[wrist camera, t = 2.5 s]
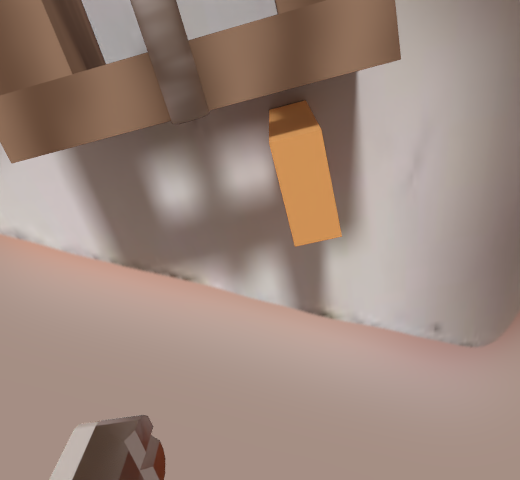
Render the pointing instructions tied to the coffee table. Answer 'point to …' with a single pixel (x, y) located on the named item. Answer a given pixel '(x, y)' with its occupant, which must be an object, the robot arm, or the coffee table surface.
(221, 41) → the wooden table with hole
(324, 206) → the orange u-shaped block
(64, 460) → the robot arm
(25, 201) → the coffee table surface
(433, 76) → the coffee table surface
